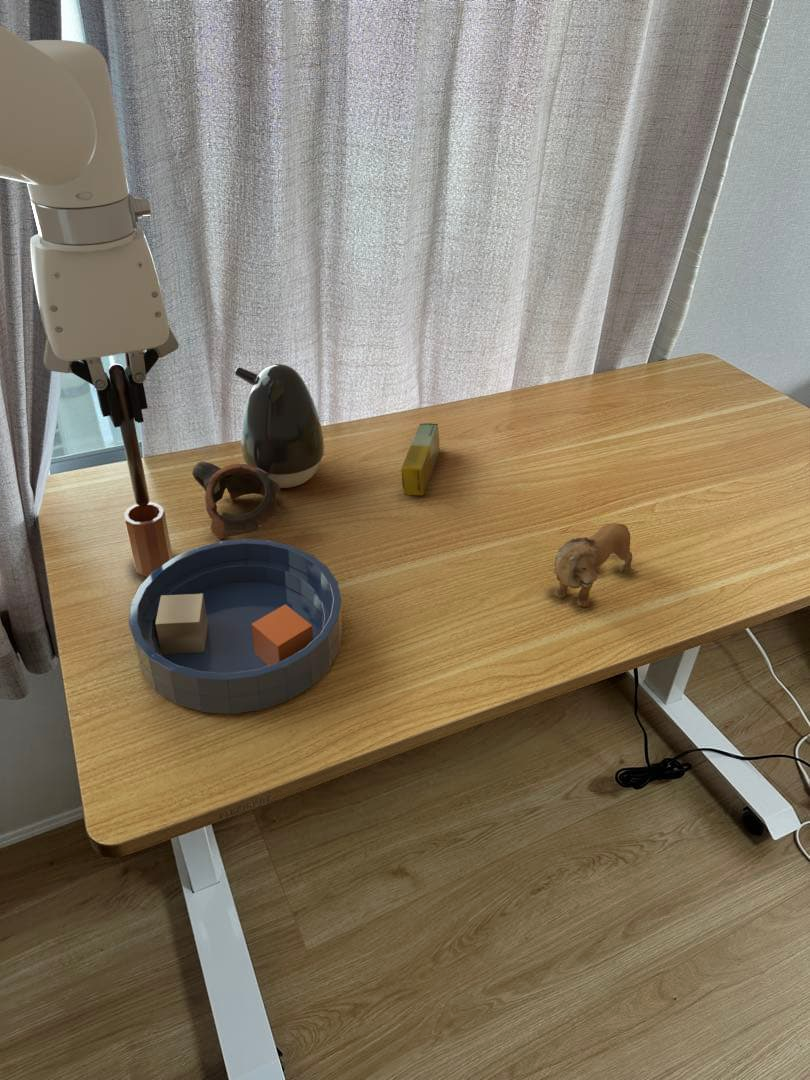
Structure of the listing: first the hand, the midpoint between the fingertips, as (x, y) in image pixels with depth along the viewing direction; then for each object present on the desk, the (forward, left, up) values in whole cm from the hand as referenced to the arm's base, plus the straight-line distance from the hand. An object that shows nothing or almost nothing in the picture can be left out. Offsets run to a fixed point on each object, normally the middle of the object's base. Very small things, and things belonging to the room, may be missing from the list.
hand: (126, 417), depth 77 cm
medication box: (+35, +5, -18) cm, 40 cm away
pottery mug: (+11, +5, -18) cm, 22 cm away
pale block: (0, -13, -18) cm, 22 cm away
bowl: (+5, -15, -18) cm, 24 cm away
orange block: (+8, -19, -18) cm, 27 cm away
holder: (0, 0, -18) cm, 18 cm away
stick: (0, 0, -11) cm, 11 cm away
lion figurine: (+41, -24, -18) cm, 51 cm away
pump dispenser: (+19, +11, -18) cm, 29 cm away
